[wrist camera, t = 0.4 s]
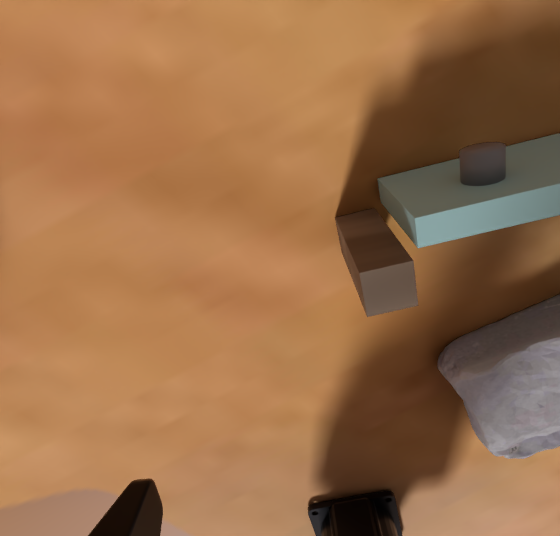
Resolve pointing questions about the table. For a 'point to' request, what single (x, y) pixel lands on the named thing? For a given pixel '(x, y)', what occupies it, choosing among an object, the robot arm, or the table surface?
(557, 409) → the stone block
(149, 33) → the table surface
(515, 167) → the gate
